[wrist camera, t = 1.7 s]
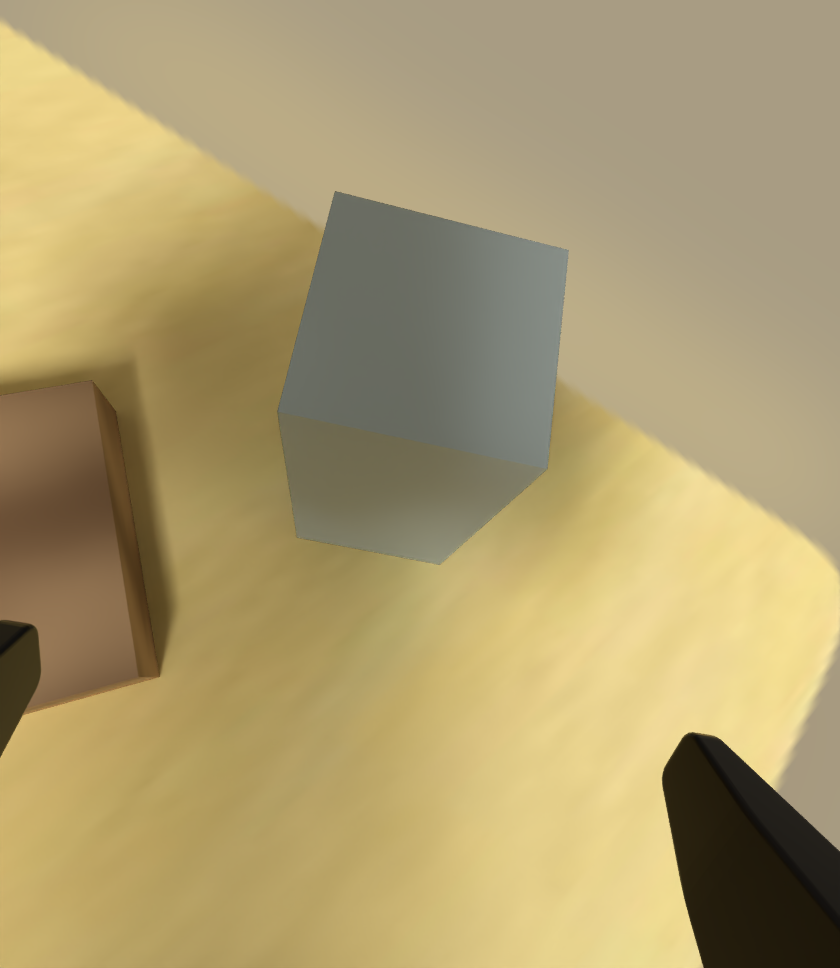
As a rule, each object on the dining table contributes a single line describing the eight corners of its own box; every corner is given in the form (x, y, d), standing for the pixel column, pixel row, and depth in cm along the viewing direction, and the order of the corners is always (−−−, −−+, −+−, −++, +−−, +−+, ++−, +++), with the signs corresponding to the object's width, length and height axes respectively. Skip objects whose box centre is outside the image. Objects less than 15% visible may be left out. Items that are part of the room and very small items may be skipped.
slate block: (439, 564, 23) (547, 468, 12) (296, 537, 23) (277, 411, 12) (459, 434, 25) (568, 250, 14) (327, 406, 24) (334, 191, 13)
